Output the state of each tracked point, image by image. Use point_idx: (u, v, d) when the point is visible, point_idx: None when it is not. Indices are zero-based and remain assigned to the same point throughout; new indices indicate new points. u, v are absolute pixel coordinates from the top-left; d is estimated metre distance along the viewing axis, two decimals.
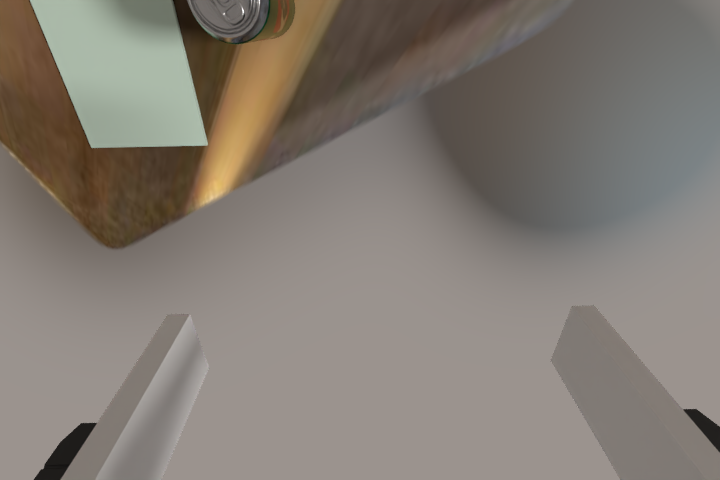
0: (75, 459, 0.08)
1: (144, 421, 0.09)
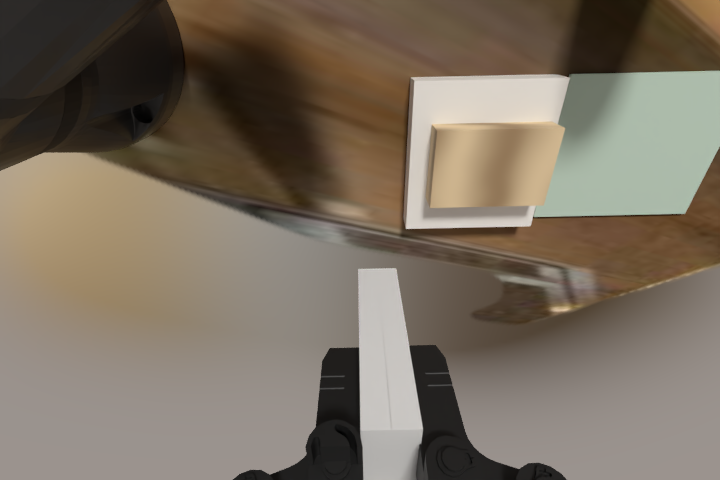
0: (361, 365, 0.10)
1: None
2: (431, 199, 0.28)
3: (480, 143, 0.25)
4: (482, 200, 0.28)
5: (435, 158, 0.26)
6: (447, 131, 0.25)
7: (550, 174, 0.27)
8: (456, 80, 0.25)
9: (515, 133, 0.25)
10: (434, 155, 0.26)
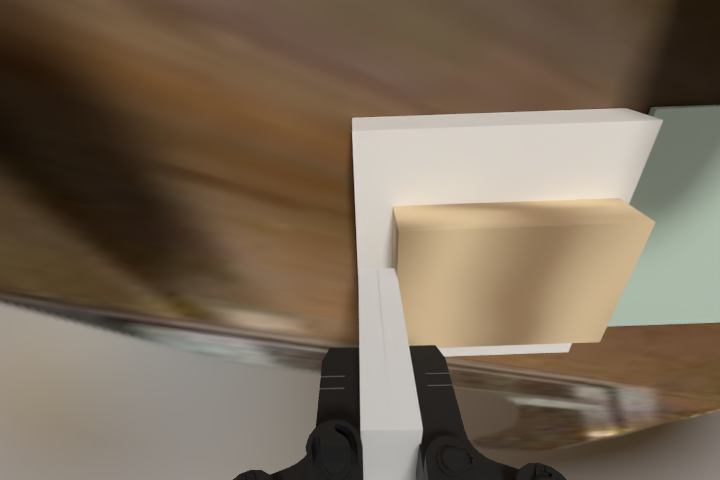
0: (361, 365, 0.10)
1: None
2: None
3: (485, 251, 0.13)
4: (489, 337, 0.15)
5: (398, 276, 0.13)
6: (419, 232, 0.12)
7: (617, 297, 0.14)
8: (436, 128, 0.13)
9: (555, 232, 0.13)
10: (397, 270, 0.14)
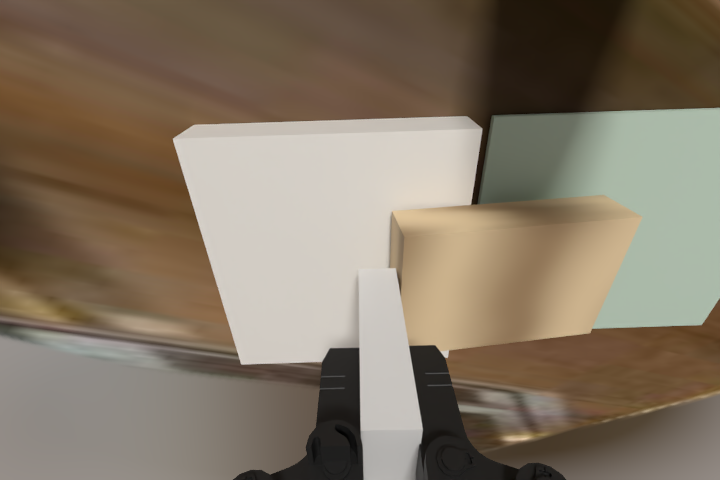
0: (362, 365, 0.10)
1: None
2: None
3: (488, 252, 0.13)
4: (489, 336, 0.15)
5: (403, 282, 0.13)
6: (425, 237, 0.12)
7: (606, 289, 0.15)
8: (258, 136, 0.13)
9: (553, 231, 0.13)
10: (401, 276, 0.13)
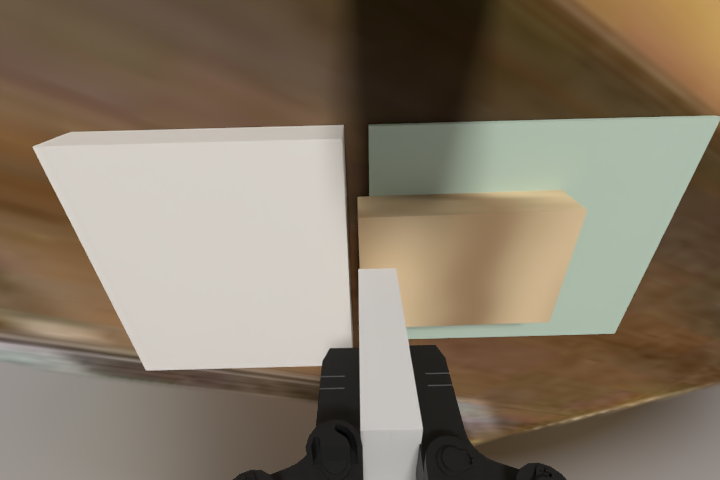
0: (361, 365, 0.10)
1: None
2: None
3: (437, 236, 0.14)
4: (447, 317, 0.17)
5: (361, 259, 0.15)
6: (376, 218, 0.14)
7: (560, 279, 0.16)
8: (119, 144, 0.13)
9: (498, 219, 0.14)
10: None
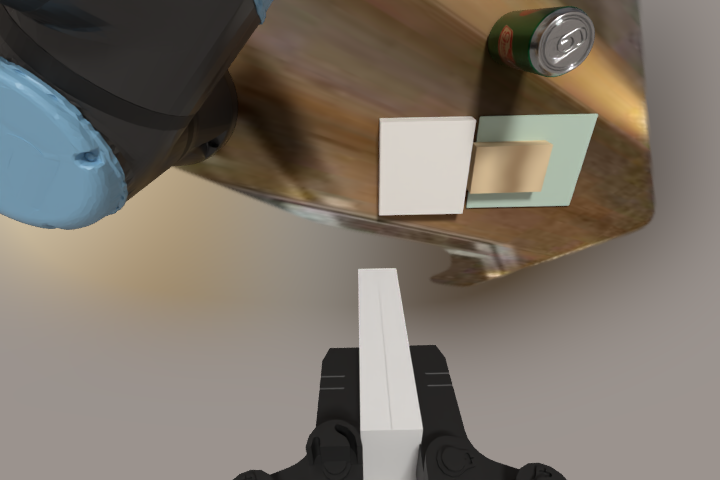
0: (361, 365, 0.10)
1: None
2: (471, 188, 0.45)
3: (502, 154, 0.42)
4: (503, 188, 0.45)
5: (475, 163, 0.43)
6: (483, 147, 0.42)
7: (544, 172, 0.44)
8: (406, 121, 0.41)
9: (523, 148, 0.42)
10: (474, 161, 0.43)
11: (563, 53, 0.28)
